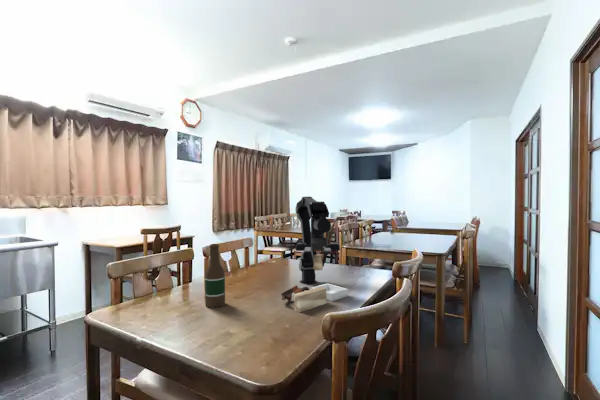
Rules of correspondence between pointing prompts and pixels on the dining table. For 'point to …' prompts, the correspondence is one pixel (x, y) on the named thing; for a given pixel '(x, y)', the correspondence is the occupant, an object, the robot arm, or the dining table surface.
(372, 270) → the dining table surface
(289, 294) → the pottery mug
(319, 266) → the peg
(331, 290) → the tray
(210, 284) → the beer bottle
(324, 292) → the block
